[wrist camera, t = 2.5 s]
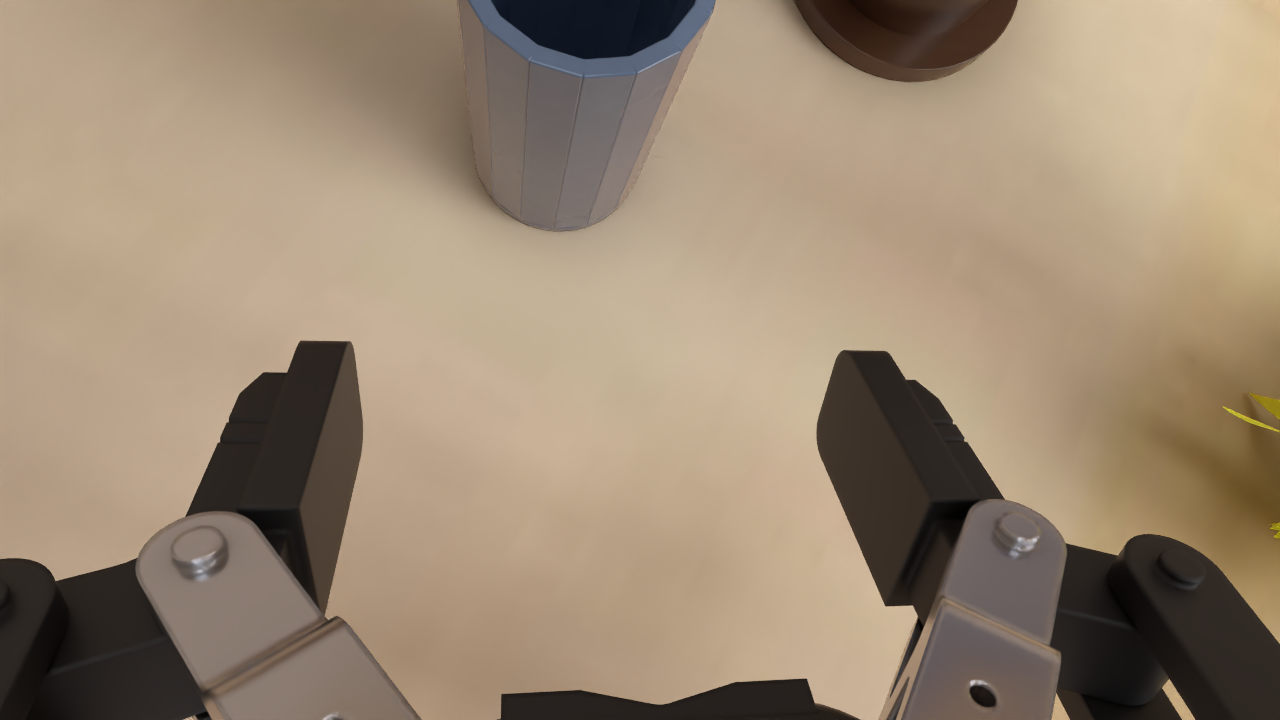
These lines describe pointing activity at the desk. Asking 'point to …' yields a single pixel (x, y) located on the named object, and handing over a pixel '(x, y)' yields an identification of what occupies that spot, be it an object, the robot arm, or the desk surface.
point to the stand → (908, 33)
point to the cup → (571, 98)
